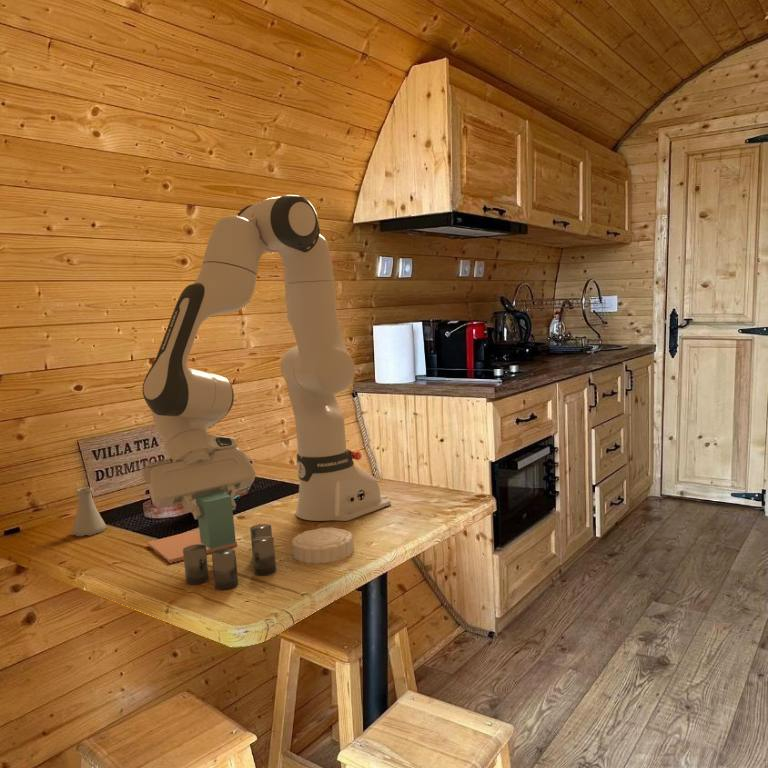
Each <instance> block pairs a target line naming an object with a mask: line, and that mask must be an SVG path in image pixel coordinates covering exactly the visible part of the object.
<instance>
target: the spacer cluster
mask: <svg viewBox="0 0 768 768" xmlns="http://www.w3.org/2000/svg"><path fill="white" fill-rule="evenodd" d="M249 529H250V530H249V531H250V541H251V551H252V552H251V554H252V563H253V564H252V565H253V573H254V575H256V576H259V577H262V576H270V575H272V574H274V573H276V572H277V565H276V564H277V562H276V551H275V538H274V537H273V532H272V525H271V524H269V523H260V524H254V525H252V526H250V528H249ZM207 555H208V554H207V553H206V546H205V545H202V544H197V545H191V546H187V547H185V548H184V549H183V556H184V560H183V563H184V565H183V566H184V575H185V583H186V585H191V586H196V585H201V584H204V583H207V582H208V581H209V579H210V576H209V564H208V556H207ZM236 557H237V556H236V550H235V549H234V548H227V549H220V550H216V551H214V552H212V553H211V560H212V561H211V563H212V572H213V580H214V581H213V583H214V588H215V589H216V590H217V591H227V590H232V589H234V588H236V587H237V586H238V585H239V578H238V569H237V558H236Z"/></svg>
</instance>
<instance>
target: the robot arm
mask: <svg viewBox="0 0 768 768" xmlns="http://www.w3.org/2000/svg"><path fill="white" fill-rule="evenodd" d="M319 225H320V223H319V218H318V213H317V211H316V209H315V207H314V205H313V204H312V203H311V202H310V200H308V199H307V198H306V197H304V196H301V195H296V194H284V195H282V196H276V197H269V198H266V199H263V200H261V201H260V202H256V203H254V204H250V205H247V206H246V207H244V208H242V209H240V211H239V212H238V213H237V214H236V215H228V216H223V217H221V218H220V219H218V220H217V222H215V225H214V227H213V229H212V231H211V233H210V237H209V239H208V242H207V245H206V248H205V252H204V256H203V260H202V263H201V269H200V271H199V274H198V276H197V278H196V280H195V281H194V282H193V283H192V284H191V283H190V284H189V285H187V286H186V287H185V288H184V289H183V291H182V292H181V294H180V296H179V297H178V299H177V302H176V303H175V307H174V309H173V312H172V315H171V317H170V318H169V323H168V325H167V326H166V327H167V328H166V331H165V333H164V336H163V339H162V342H161V343H160V347H159V349H158V352H157V355H156V357H155V359H154V361H153V363H152V364H151V366H150V368H149V369H148V372H147V374H146V376H145V378H144V381H143V383H142V395H143V399H144V401H145V403H146V405H147V407H148V408H149V409H150V410H151V416H152V419H153V423H154V425H155V428H156V431H157V433H158V436H159V437H160V438H161V440H163V444H164V451H165V453H166V456H167V459H164V460H159V461H157V462H154V461H153V462H152V461H151V462H149V463H147V465H146V466H144V467H143V468H142V471H141V474H142V477H143V480H144V482H145V483H146V484H148V491H149V495H150V499H151V503H152V505H153V506H154V507H156V508H157V509H159V508H160V509H162V508H166V507H170V506H174V505H179V504H182V507H183V508H184V509H186V510H187V511H188V512H189V513H191V514H192V516H193V519H194V520H195V521H196V520H198V519H200V518H203V516H204V511H203V510H202V507H201V506H199V507H197V506H196V505H195V504H193V503H192V502H191V501H192V500H196V497H198V496H203V495H207V494H211V493H215V492H220V491H221V492H223V493H225V494H227V495H229V496H231V501H232V511H234V510H235V511H236V508H237V504H236V500H234V495H235V490H238V489H243V488H247V487H250V488H251V486H252V484H253V483H254V481H255V479H256V470H255V469H254V467H253V465H252V462H251V461H250V459H249V458H248V456H247V454H246V453H245V452H244V451H243V450H242V449H240V448H238V442H237V439H236V438H235V437H232V436H223V435H222V436H221V435H220V436H218V435H214V434H209V433H208V429H209V428H212V427H213V426H215V425H216V424H218V422H220V421H221V420H222V419H224V418H225V417H226V416H227V415H228V414H229V412H230V411H231V410H232V408H233V405H234V399H235V396H234V395H235V393H234V389H233V386H232V384H231V383H232V382H230V380H229V379H228V378H227V377H226V376H224V375H220V374H216V373H214V372H209V371H205V370H199V369H195V368H191V367H188V359H189V356H190V354H191V351H192V349H193V345H194V342H195V339H196V336H197V334H198V330H199V329H200V326H201V325H202V324H203V323H204V322H205V321H206V320H207V319H209V318H211V317H215V316H220V315H227V314H232V313H235V312H238V311H239V310H241V309H243V308H245V306H247V304H248V303H249V302H250V301H251V299H252V297H253V295H254V291H255V288H256V283H257V277H258V270H259V264H260V260H261V258H262V255H263V254H267V253H269V254H271V253H272V254H273V253H278V255H279V257H280V258H281V261H282V263H283V275H284V276H283V277H284V278H283V279H284V290H285V291H284V293H285V302H286V303H285V305H286V315H287V316H286V317H287V321H288V322H289V324H290V327H291V328H292V332H293V334H294V339H295V342H296V345H295V346H293V347H291V348H289V349H288V350H287V351H286V352H285V353H284V354H283V356H282V358H281V361H280V373H281V375H282V377H283V379H284V380H285V385H286V387H287V392H288V396H289V400H290V404H291V407H292V411H293V412H292V413H293V416H294V420H295V421H294V422H295V431H296V440H297V441H296V443H297V454H296V469H297V477H298V482H299V483H298V484H299V485H298V498H297V499H298V500H297V506H296V510H295V516H296V517H297V518H299V519H302V520H305V521H306V520H307V521H315V522H316V521H319V522H323V521H327V522H328V521H340V522H345V521H351V520H353V519H356V518H358V517H361V516H363V515H367V514H370V513H372V512H375V511H378V510H381V509H383V508H385V506H386V507H388V506H390V505H392V504H391V499H390V498H389V496H386V495H384V494H383V493H381V489H380V485H379V482H378V480H377V479H376V477H374V476H373V475H371V474H370V473H368V472H367V471H366V470H364V469H362V468H360V467H359V466H358V465H356V464H355V462H354V460H356V461H360V460H361V459H362V457H363V456H362V455H363V454H362V452H361V451H360V450H359V451H358V450H353V451H352V450H349V449H347V442H346V441H347V440H346V428H345V427H346V426H345V425H346V424H345V418H344V415H343V412H342V411H341V409H340V407H339V404H338V401H337V397H336V394H338V393H342V392H344V391H345V390H347V389H348V388H349V387H350V386H351V385H352V383H353V381H354V379H355V376H356V367H355V362H354V359H353V358H352V357H351V355H350V353H349V352H348V350H347V347H346V344H345V340H344V337H343V333H342V330H341V326H340V322H339V319H338V311H337V301H336V298H337V297H336V290H335V289H336V288H335V287H336V286H335V274H334V268H333V267H334V266H333V262H332V257H331V253H330V249H329V248H330V247H329V244H328V242H327V239H325V237H324V236H323V235H321V234H320V232H321V230H320V229H321V228H320V226H319Z"/></svg>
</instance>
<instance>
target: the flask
mask: <svg viewBox="0 0 768 768" xmlns="http://www.w3.org/2000/svg"><path fill="white" fill-rule="evenodd" d="M92 491H93V487H82V488H78V489H77V490H76V491H75V493H76V494H77V496H78V505H77V509H76V515H75V519H74V523H73V526H72V528H71V529H72V530H71V533H70V535H71V536H74V535H76V536H75V537H85V536H84V535H88V536H94V535H97V534H99V533H102V532H104V531H105V530H106V529H107V527H108V526H107V525H106V523H105V521H104V519H103V518H102V516H101V514H100V513H99V510H98V508H97V507H96V505H95V502H94V498H93V495H92ZM105 528H106V529H105ZM96 533H97V534H96ZM93 534H94V535H93Z"/></svg>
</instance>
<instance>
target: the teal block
mask: <svg viewBox="0 0 768 768" xmlns="http://www.w3.org/2000/svg"><path fill="white" fill-rule="evenodd" d="M196 504H197V507H199V506H201V507H202V510H203V511H204V516H203V518H200V519H197V520H198V521H197V522H198V529H199V531H200V540H201V543H202V544H204V545H205V546H207V547H208V548H210V549H213V548H217V547H221V546H224V545H228V544H231V543H235V542H237V540H236V533H235V522H234V513H233V512H234V510H232V501H231V496H229V495H227V494H225V493H223V492H221V491H220V492H215V493H211V494H207V495H203V496H198V497H196Z"/></svg>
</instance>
